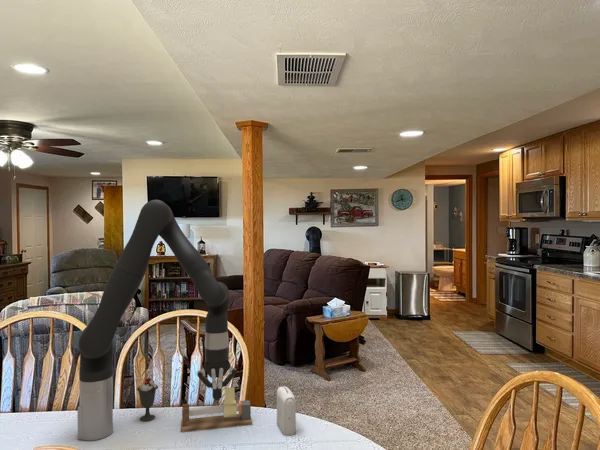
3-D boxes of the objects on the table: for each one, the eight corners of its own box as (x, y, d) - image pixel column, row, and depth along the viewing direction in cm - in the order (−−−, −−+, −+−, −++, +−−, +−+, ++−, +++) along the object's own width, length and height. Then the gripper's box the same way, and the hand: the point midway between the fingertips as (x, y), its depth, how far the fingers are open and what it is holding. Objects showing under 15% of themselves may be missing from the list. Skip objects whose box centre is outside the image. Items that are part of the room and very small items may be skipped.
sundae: (144, 424, 142) (144, 377, 142) (132, 419, 146) (132, 373, 146) (162, 417, 147) (162, 372, 147) (150, 412, 151) (150, 368, 151)
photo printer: (297, 434, 134) (297, 393, 134) (283, 436, 133) (283, 395, 133) (288, 420, 144) (287, 382, 144) (275, 422, 143) (275, 383, 143)
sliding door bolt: (184, 426, 138) (183, 410, 138) (184, 421, 142) (184, 405, 142) (250, 419, 143) (250, 403, 143) (249, 414, 146) (249, 399, 146)
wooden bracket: (180, 432, 136) (180, 411, 136) (181, 422, 143) (181, 402, 143) (252, 424, 141) (252, 404, 141) (249, 415, 148) (249, 396, 148)
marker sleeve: (223, 417, 141) (223, 390, 141) (223, 412, 145) (223, 386, 145) (236, 416, 141) (236, 389, 142) (235, 411, 145) (235, 385, 145)
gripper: (195, 350, 137) (195, 406, 137) (238, 347, 140) (239, 402, 140) (195, 343, 144) (196, 397, 144) (236, 341, 147) (237, 393, 147)
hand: (217, 399), depth 142 cm, fingers closed
